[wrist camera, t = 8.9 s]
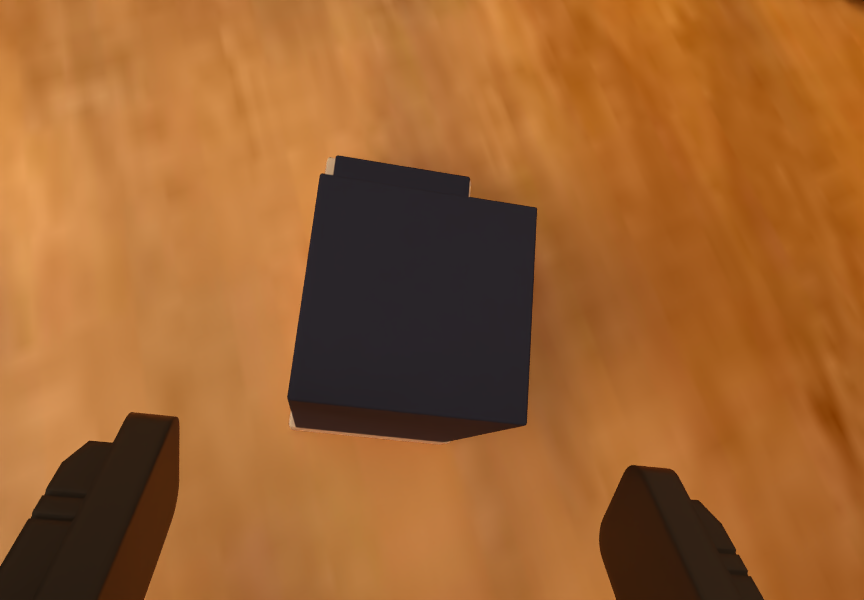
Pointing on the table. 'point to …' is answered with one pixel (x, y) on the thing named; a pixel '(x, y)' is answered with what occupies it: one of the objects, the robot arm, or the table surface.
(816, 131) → the table surface
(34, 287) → the table surface
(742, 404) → the table surface
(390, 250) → the high-top shoe
